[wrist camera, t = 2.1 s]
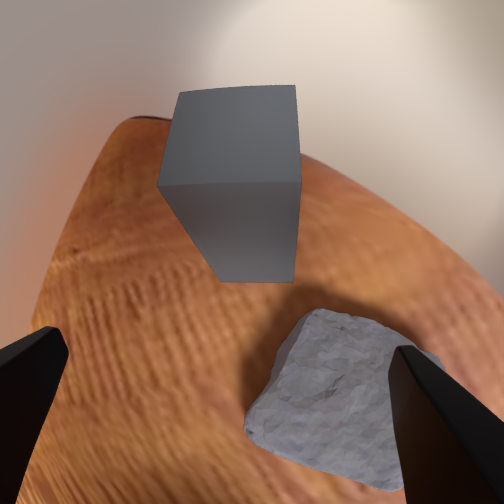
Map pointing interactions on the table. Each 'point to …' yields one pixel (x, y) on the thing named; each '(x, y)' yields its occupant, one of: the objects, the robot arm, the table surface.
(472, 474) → the robot arm
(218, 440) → the table surface
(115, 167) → the table surface
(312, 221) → the table surface
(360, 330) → the stone block
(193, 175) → the pillar
